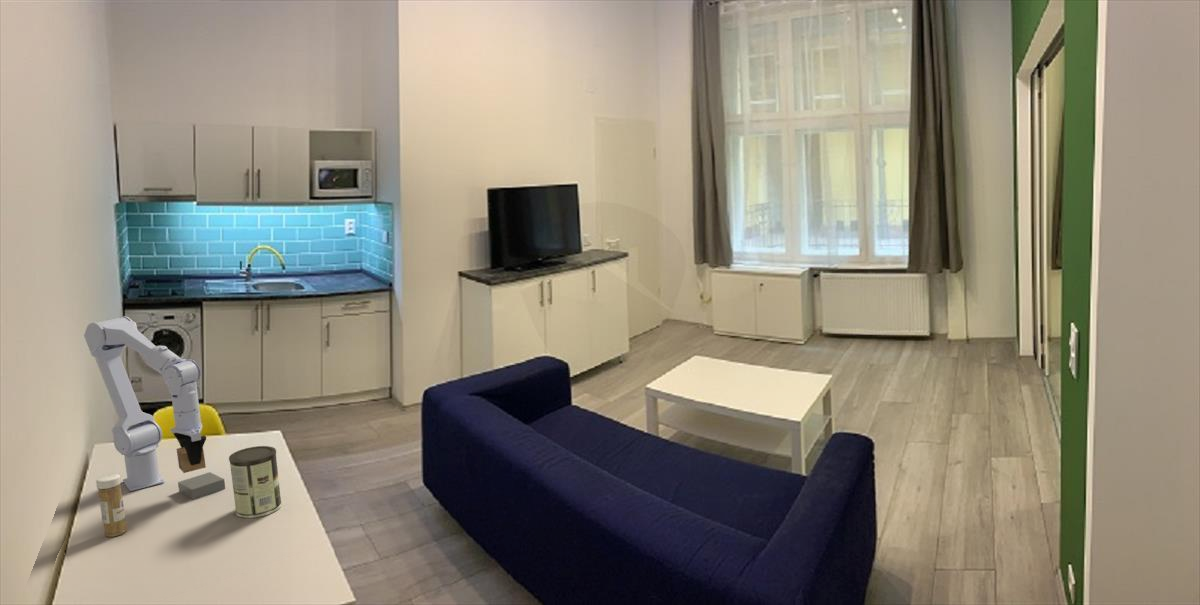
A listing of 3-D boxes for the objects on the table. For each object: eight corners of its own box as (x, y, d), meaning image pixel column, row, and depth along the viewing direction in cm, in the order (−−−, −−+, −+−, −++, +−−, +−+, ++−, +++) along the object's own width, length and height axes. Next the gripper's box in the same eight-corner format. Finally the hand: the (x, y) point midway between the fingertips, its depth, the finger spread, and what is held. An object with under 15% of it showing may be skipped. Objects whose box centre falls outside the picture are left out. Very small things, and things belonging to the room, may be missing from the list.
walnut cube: (179, 467, 193) (176, 448, 192) (200, 462, 196) (198, 443, 195) (183, 473, 189) (181, 454, 188) (205, 467, 193) (203, 448, 192)
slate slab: (179, 493, 195) (177, 482, 194) (211, 482, 201) (209, 472, 201) (193, 500, 190) (191, 489, 190) (225, 490, 196) (224, 479, 196)
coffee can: (257, 497, 190) (251, 443, 188) (291, 502, 187) (285, 448, 184) (225, 515, 181) (218, 459, 178) (259, 521, 177) (253, 463, 175)
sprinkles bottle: (128, 533, 172) (120, 477, 170) (104, 539, 170) (95, 482, 168) (127, 526, 176) (119, 471, 174) (103, 531, 174) (95, 476, 171)
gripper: (162, 406, 193) (168, 457, 196) (175, 419, 182) (182, 473, 185) (192, 400, 198) (198, 450, 200) (207, 413, 187) (213, 465, 189)
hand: (192, 461), depth 193 cm, fingers closed on walnut cube, 5 cm apart
